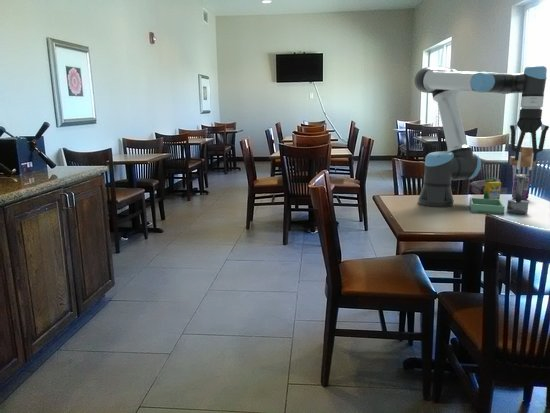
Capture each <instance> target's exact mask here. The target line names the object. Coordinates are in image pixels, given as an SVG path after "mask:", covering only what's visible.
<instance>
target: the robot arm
mask: <svg viewBox="0 0 550 413" xmlns="http://www.w3.org/2000/svg"><path fill="white" fill-rule="evenodd" d="M547 70H548V69H547V67H546V66H544V65H532V66H531V65H530V66H526V67H524V70H523V72H520V73H519V72H518V73H504V72H493V71H492V72H490V71H479V72H478V71H458V70H456V69H454V68H450V67H434V66H427V67H424V68H421V69H420V70H418V71H417V72H416V73H415V76H414V80H413V81H414V85H415V88H416V89H417V90H418V91H420V92H422V93H426V94H431V96H432V100H433V101H435V102H437V105H438V106H437V107H438V111H439V115H440V119H441V120H440V121H441V125H442V129H443V134H444V137H445V144H446V148H447V150H443V151H434V152H433V151H432V152H429V153H428V154H427V155H425V161H424V173H423V174H424V175H423V185H422V189H421V191H420V194H419V196H418V201H417V203H418V205H422V206H426V207H433V208H434V207H436V208H446V207H453V206H454V201H455V200H454V197H453V196H454V195H453V192H452V181H461V180H463V181H466V180H472V179H474V178H475V177H477V176H478V174H479V172H480V171H481V168H482V161H481V158H480V156H479V155H477V154H476V153H474V152H473V147H471V146H470V145H468V142H467V136H466V132H465V129H464V125H463V120H462V115H461V110H460V106H459V102H458V98H457V97H458V95H459V94H460V91H461V92H462V91H463V92H476V93H493V94H494V93H495V94H497V93H498V94H502V95H509V94H520V93H521V98H520V105H519V106H520V109H519V116H518V120H517V121H516V123H515V124H510V125H509V129H510V151H512V152H515V153H514V156H515V161H517V166H516V170H520V169H521V167H520V161H521V152H520V149H521V147H522V145H523V141H524V139H525V136H526V134H527V133H529V134H530V135H531V136H530V137H531V147H532V148H533V149H532V158H531V166H530V167H528V171H532V170H533V166H532V163H533V161H536V162H537V157H538V156H537V154H538V153H540V152H541V153H542V152H543V150H544V146H545V141H546V140H545V139H546V135H547V132H548V130H549V128H550V126H549V125H545V124H543V122H542V115H543V109H542V108H543V106H544V99H545V98H544V97H545V88H546V82H547ZM517 127H518V128H519V130H520V133H519V134H520V135H519V138H518V141H517V143H516V130H517ZM539 129H540V130H541V133H540V138H539V143H538V142H537V131H538V130H539ZM537 143H538V145H537Z"/></svg>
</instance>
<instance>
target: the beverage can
mask: <svg viewBox="0 0 550 413" xmlns="http://www.w3.org/2000/svg"><path fill="white" fill-rule="evenodd" d="M514 175H515V176H514V177H513V183H512V184H513V185H512V190H511V191H512V192H511V198H513V200H515V198H516V189H517V180H518V177H516V175H526V177H525V178H524V181H523V190H522V199H521V200H524V199H526V200H528V199H529V196H530V195H529V194H530V186H531V185H530V184H531V177H530V174H527V173H515V174H514ZM524 201H525V200H524Z"/></svg>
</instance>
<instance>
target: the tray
mask: <svg viewBox="0 0 550 413" xmlns="http://www.w3.org/2000/svg"><path fill="white" fill-rule="evenodd" d="M483 198H484V197H483ZM483 198H482V197H481V198H479V197H469V203H468V204H469V209H470V212H471V213H480V214H481V213H484V214H494V215H495V214H497V215H498V214H499V215H505V208H506V207H505V204H504V203H503V201H502V200H501V199H500V198H499V199H483Z"/></svg>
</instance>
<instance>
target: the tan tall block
mask: <svg viewBox="0 0 550 413" xmlns="http://www.w3.org/2000/svg"><path fill="white" fill-rule="evenodd" d="M519 152H521V161H520V168H529V167H530V166H531V158H532V153H533V148H532V146H521V148H520V151H519ZM508 164H509V165H511V166H514V167H515V166H516V167H517V161H515V155H514V156H513V155H511V156H509V161H508ZM536 164H537V160H536V161H533V163H532V167H536V166H537V165H536Z"/></svg>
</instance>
